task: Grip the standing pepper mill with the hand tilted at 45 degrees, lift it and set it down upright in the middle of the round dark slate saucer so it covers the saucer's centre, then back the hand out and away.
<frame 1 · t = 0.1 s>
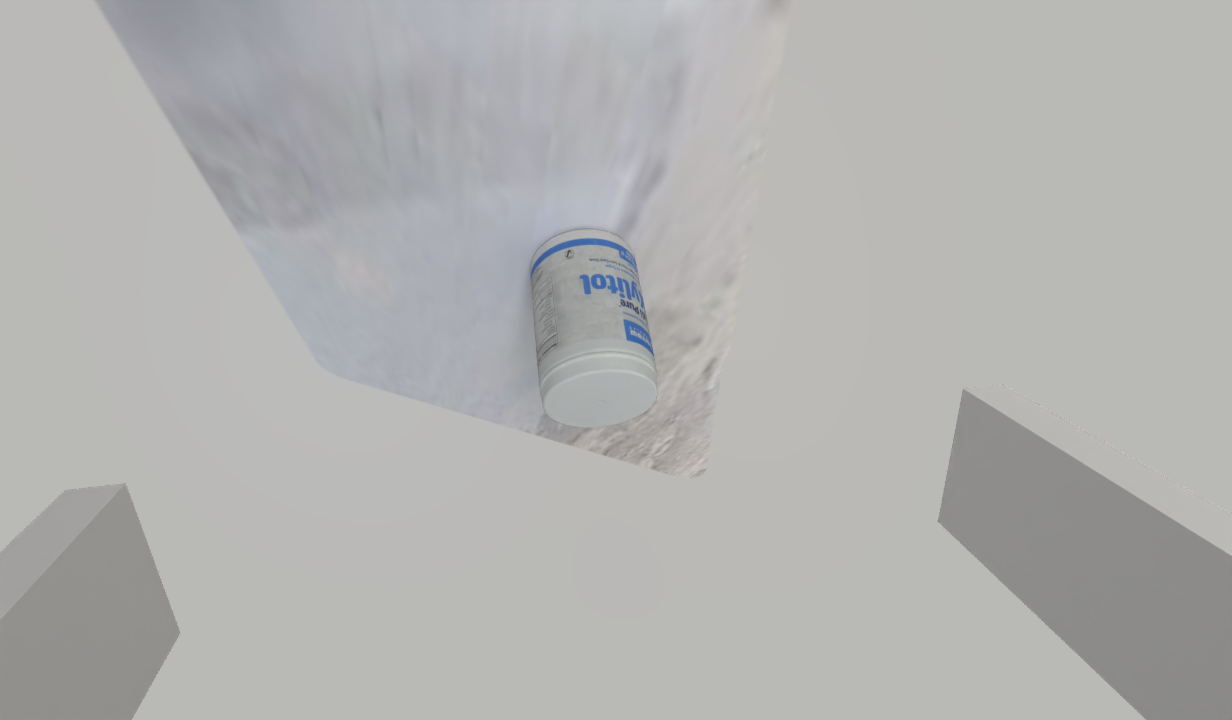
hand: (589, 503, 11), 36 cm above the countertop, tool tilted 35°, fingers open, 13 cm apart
supplement tub: (580, 259, 60), on the countertop
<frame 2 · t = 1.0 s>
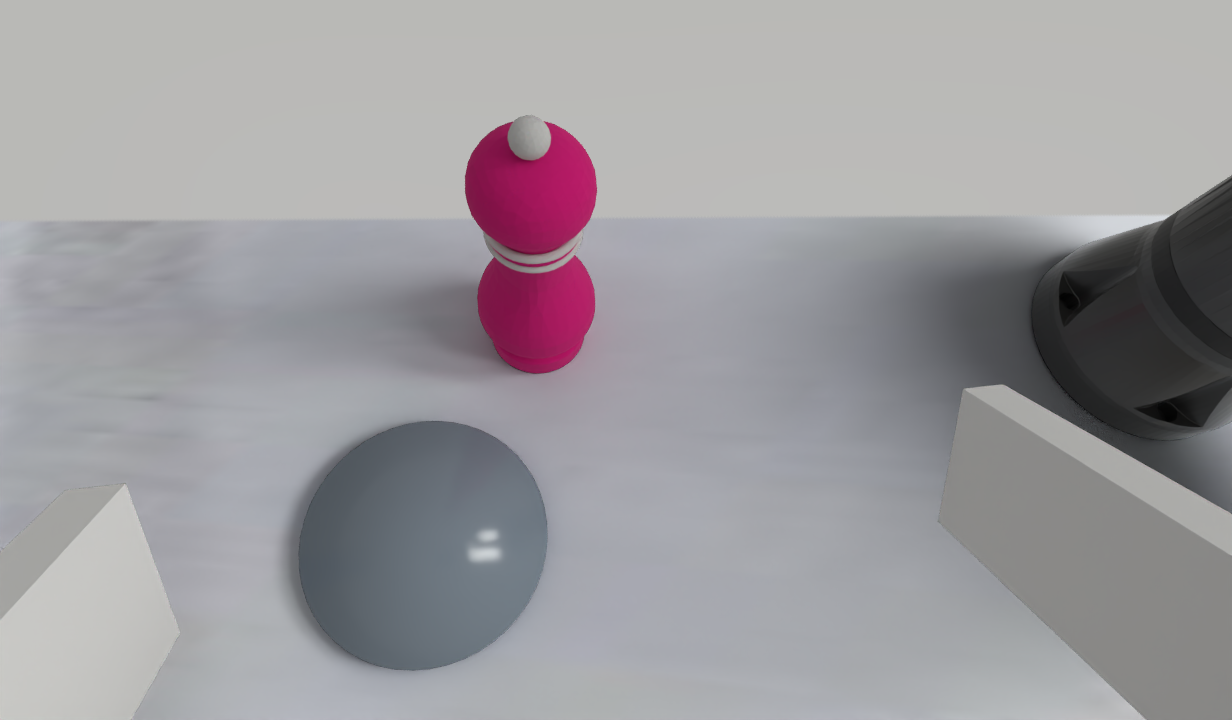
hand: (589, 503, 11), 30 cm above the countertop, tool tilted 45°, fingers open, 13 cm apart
pepper mill: (538, 332, 45), on the countertop
saucer: (428, 539, 39), on the countertop
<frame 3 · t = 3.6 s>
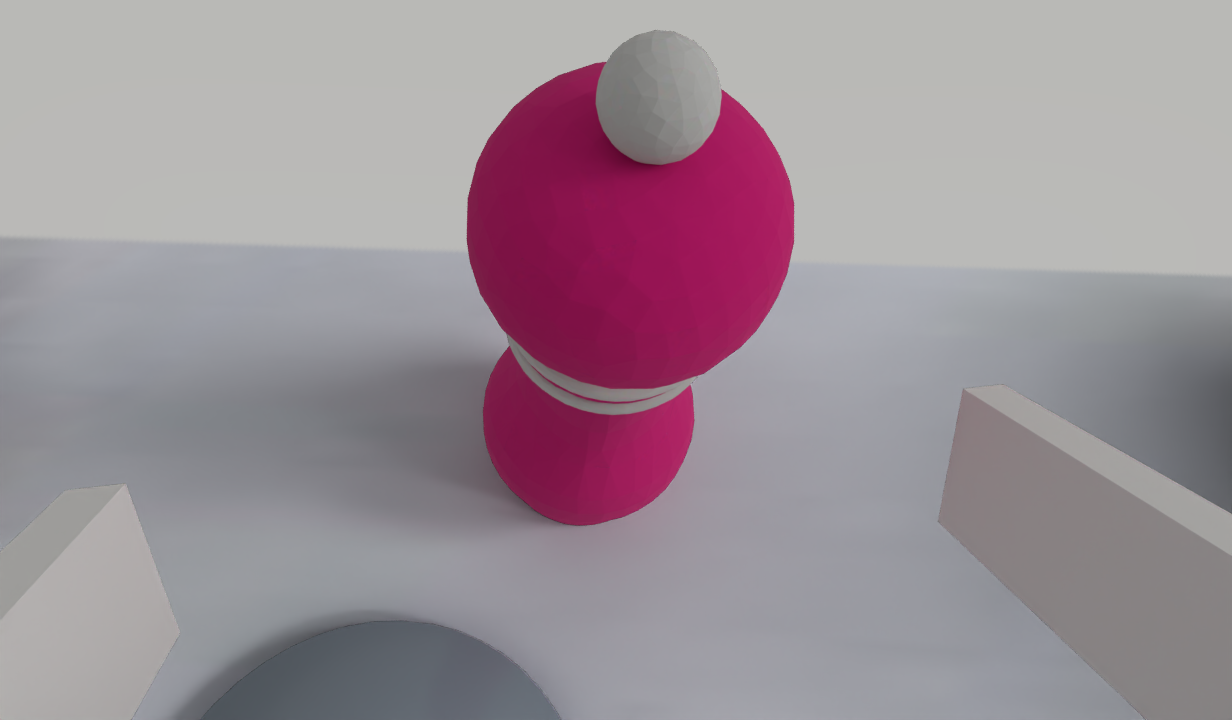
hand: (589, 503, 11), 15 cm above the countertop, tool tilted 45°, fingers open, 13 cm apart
pepper mill: (581, 449, 27), on the countertop
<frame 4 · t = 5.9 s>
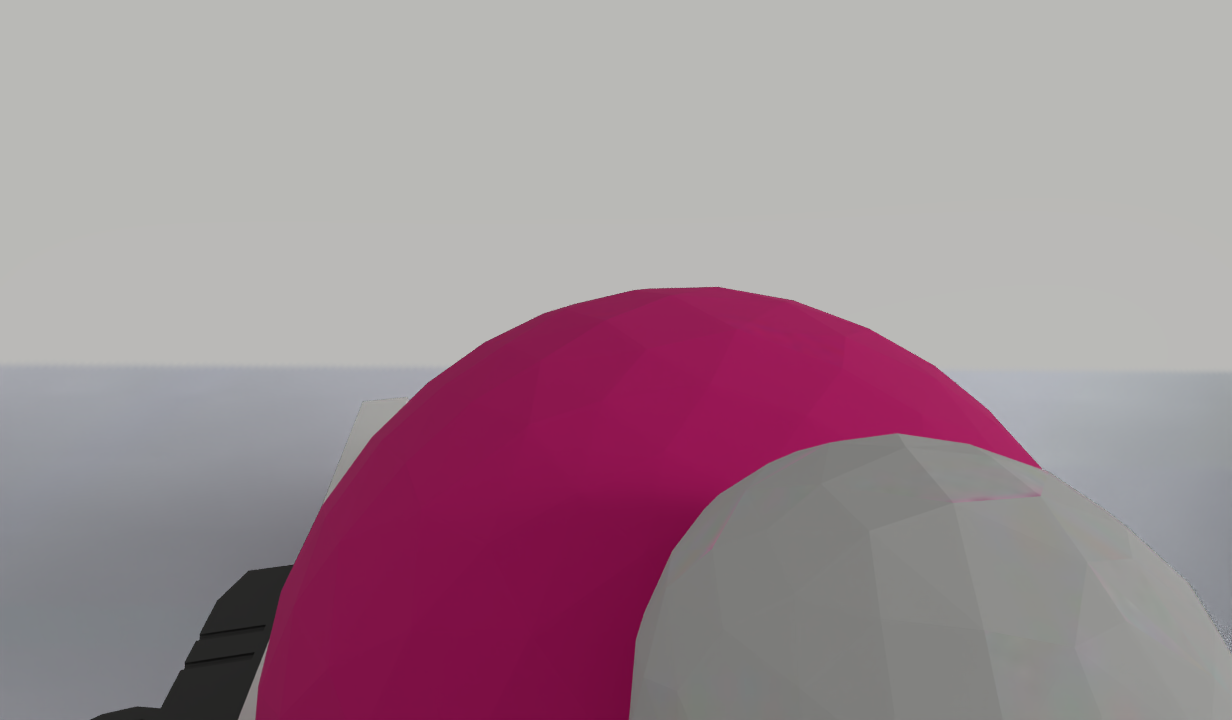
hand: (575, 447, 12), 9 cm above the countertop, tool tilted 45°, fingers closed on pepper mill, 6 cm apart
pepper mill: (573, 651, 20), on the countertop, touching gripper
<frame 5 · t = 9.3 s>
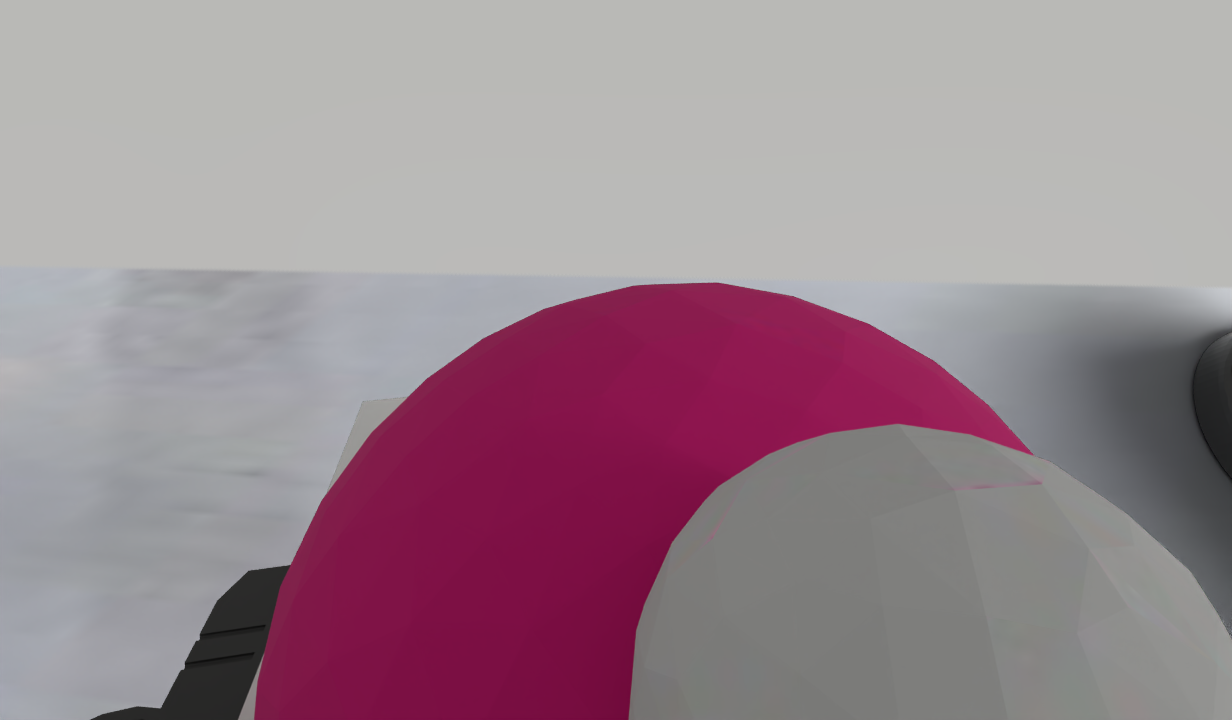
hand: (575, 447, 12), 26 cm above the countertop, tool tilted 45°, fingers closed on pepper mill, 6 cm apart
pepper mill: (572, 650, 20), point 17 cm above the countertop, touching gripper
when the fingers open (11 cm above the countertop, at t = 12.5 s): pepper mill stays where it is, resting on saucer.
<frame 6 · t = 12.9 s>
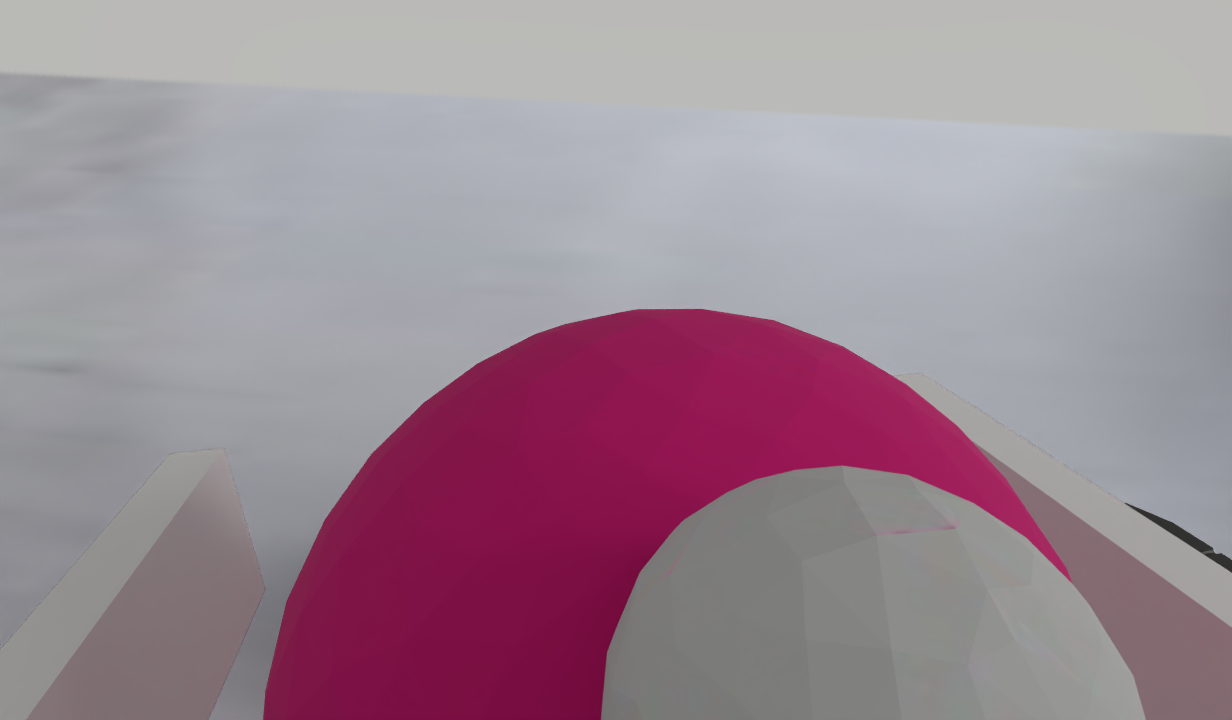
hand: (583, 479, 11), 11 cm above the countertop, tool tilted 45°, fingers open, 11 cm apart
pepper mill: (573, 651, 20), point 1 cm above the countertop, touching saucer
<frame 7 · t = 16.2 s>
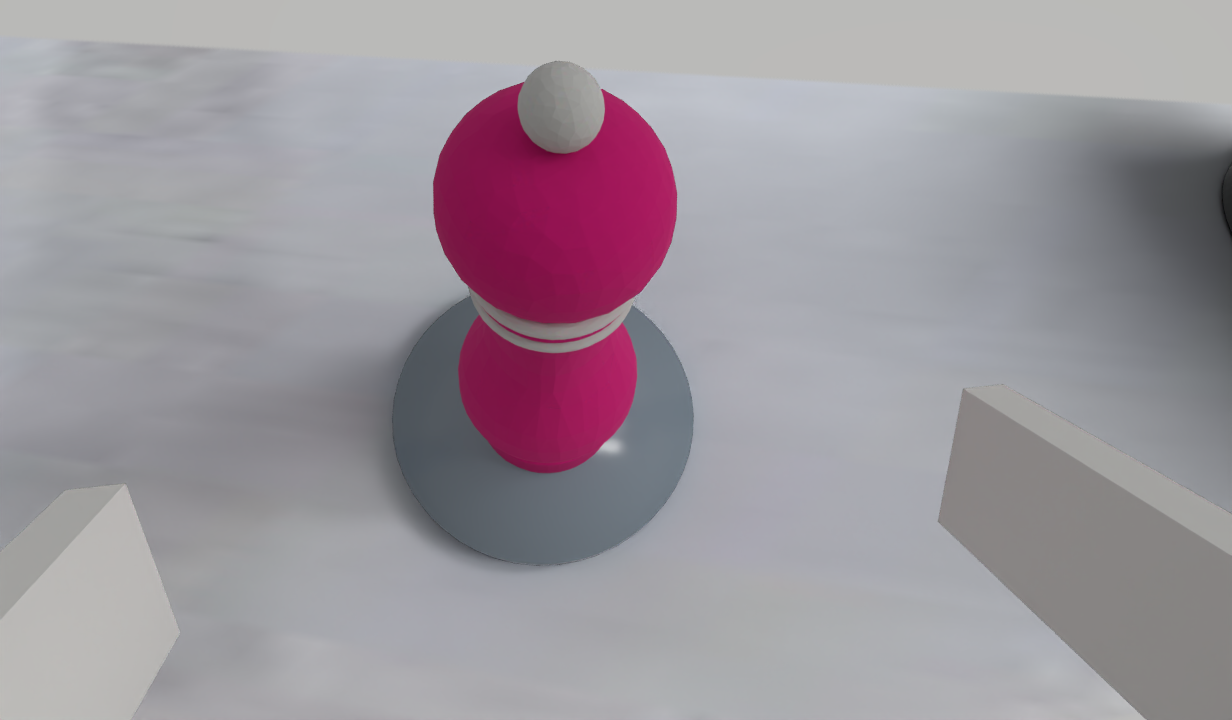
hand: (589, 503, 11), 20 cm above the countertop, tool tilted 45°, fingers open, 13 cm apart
pepper mill: (547, 409, 31), point 1 cm above the countertop, touching saucer
saucer: (546, 414, 32), on the countertop
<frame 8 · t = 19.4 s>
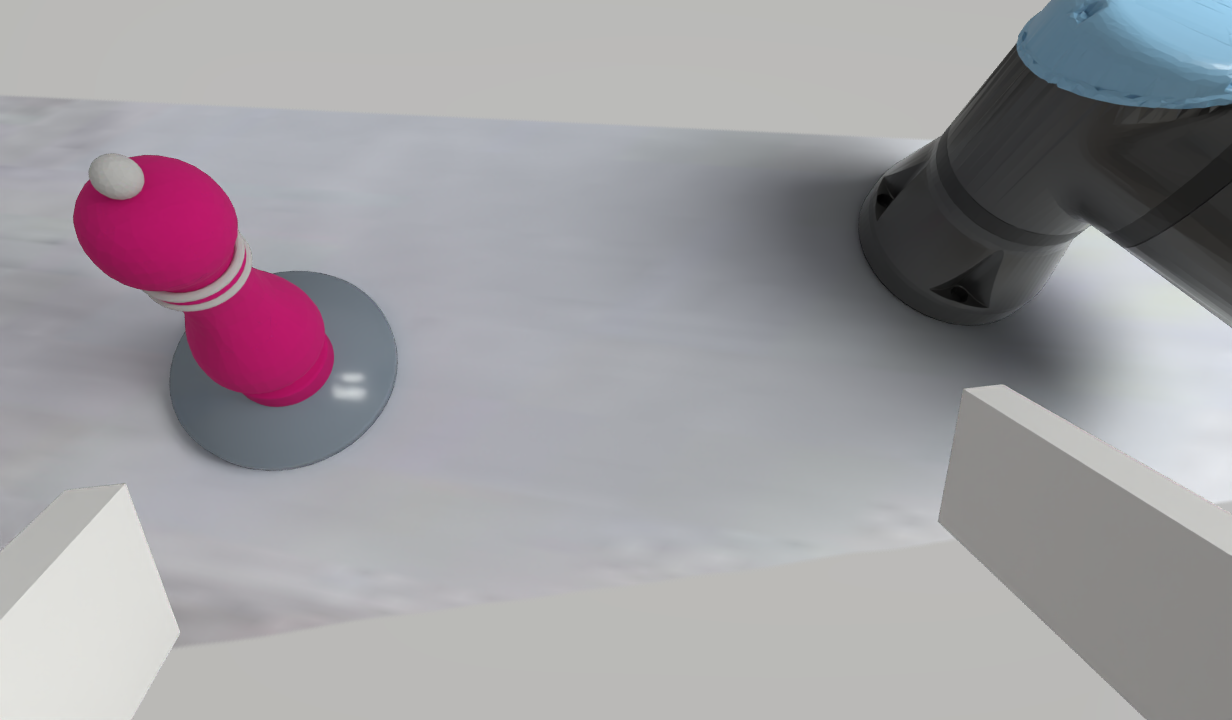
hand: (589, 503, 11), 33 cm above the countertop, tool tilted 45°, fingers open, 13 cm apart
pepper mill: (286, 364, 44), point 1 cm above the countertop, touching saucer
saucer: (290, 368, 45), on the countertop
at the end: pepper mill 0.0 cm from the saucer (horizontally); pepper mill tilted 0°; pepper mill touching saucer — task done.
